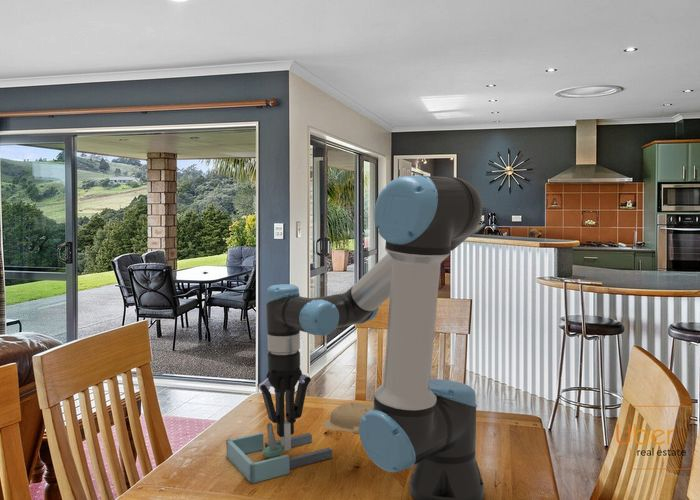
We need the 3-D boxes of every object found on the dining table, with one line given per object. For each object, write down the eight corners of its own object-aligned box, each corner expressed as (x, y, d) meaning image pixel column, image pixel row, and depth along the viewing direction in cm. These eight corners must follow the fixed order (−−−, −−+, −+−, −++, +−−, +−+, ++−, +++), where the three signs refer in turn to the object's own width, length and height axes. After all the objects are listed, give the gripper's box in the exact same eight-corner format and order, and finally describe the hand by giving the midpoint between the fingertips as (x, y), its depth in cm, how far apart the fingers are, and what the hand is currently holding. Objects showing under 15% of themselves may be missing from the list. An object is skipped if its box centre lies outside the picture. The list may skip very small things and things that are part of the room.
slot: (332, 457, 138) (332, 449, 137) (285, 470, 131) (285, 461, 131) (309, 440, 148) (309, 432, 148) (265, 451, 142) (265, 443, 142)
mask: (325, 391, 167) (430, 396, 163) (325, 414, 168) (430, 420, 163) (314, 408, 153) (429, 414, 148) (314, 433, 153) (429, 440, 148)
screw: (289, 456, 137) (274, 466, 133) (274, 452, 140) (259, 462, 136) (284, 420, 136) (269, 428, 132) (268, 416, 139) (253, 425, 135)
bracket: (289, 473, 130) (289, 456, 129) (251, 483, 125) (250, 465, 125) (262, 448, 143) (261, 432, 143) (226, 456, 139) (226, 440, 138)
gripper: (302, 343, 143) (303, 437, 145) (251, 351, 136) (254, 448, 138) (315, 350, 136) (317, 448, 138) (263, 358, 130) (266, 460, 132)
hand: (285, 448), depth 138 cm, fingers closed
